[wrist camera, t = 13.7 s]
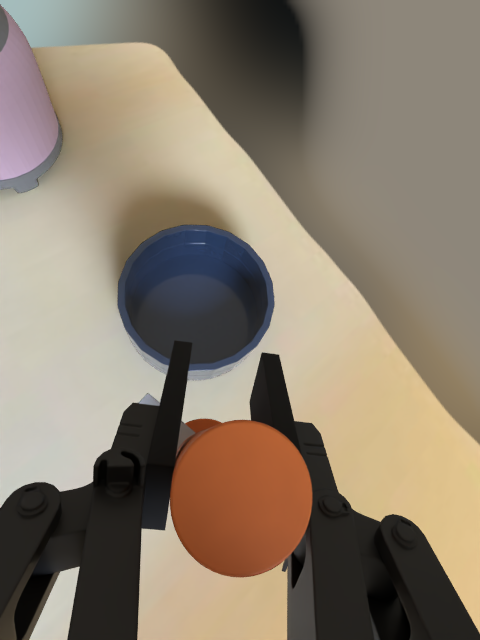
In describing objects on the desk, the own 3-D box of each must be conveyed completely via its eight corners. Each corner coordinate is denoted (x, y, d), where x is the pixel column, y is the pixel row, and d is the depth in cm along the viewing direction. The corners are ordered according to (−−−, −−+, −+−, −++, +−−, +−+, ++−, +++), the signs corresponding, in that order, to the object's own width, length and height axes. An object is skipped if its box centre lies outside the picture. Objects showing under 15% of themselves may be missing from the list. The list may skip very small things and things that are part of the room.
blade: (112, 442, 21) (0, 444, 8) (167, 378, 22) (154, 288, 9) (240, 551, 20) (360, 761, 7) (288, 478, 22) (463, 539, 8)
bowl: (108, 273, 38) (97, 246, 33) (232, 238, 41) (241, 209, 36) (151, 401, 35) (146, 394, 30) (281, 352, 38) (297, 339, 33)
